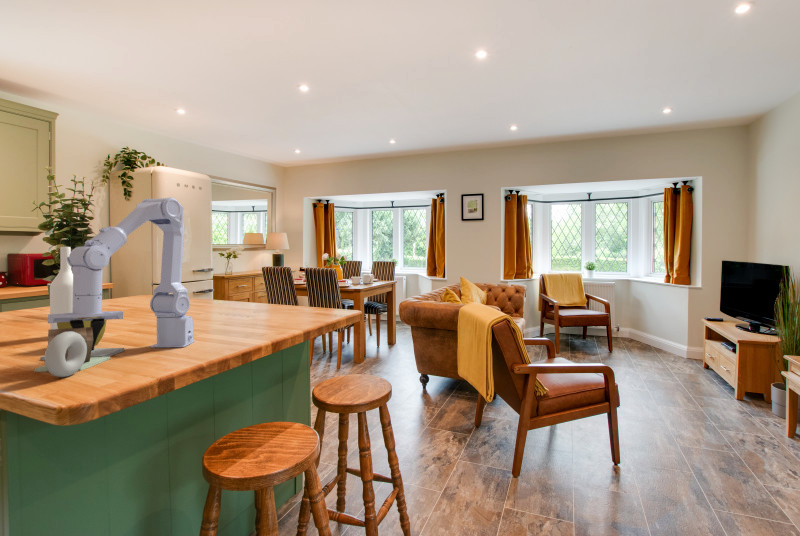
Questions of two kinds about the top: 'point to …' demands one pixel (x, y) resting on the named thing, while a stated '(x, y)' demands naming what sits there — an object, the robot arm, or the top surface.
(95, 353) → the stand
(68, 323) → the flower pot
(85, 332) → the c link
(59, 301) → the bottle
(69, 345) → the donut
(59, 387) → the top surface
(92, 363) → the pad
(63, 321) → the robot arm
